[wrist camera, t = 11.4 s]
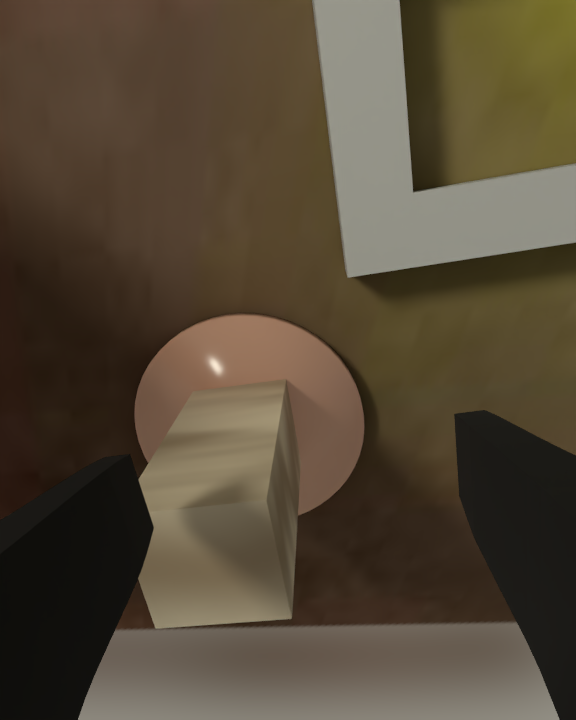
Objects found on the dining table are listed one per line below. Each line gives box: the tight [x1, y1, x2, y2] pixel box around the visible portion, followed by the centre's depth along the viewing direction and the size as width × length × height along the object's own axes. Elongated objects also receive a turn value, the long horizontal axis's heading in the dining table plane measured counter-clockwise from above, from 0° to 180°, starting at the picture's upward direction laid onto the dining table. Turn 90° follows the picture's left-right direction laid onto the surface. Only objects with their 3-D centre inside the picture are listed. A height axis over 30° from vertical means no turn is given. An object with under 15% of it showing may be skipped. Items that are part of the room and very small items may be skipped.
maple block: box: [138, 379, 301, 629], centre depth 16 cm, size 4×4×8 cm
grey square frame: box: [312, 0, 576, 278], centre depth 15 cm, size 12×12×2 cm
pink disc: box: [134, 313, 364, 516], centre depth 20 cm, size 10×10×1 cm
